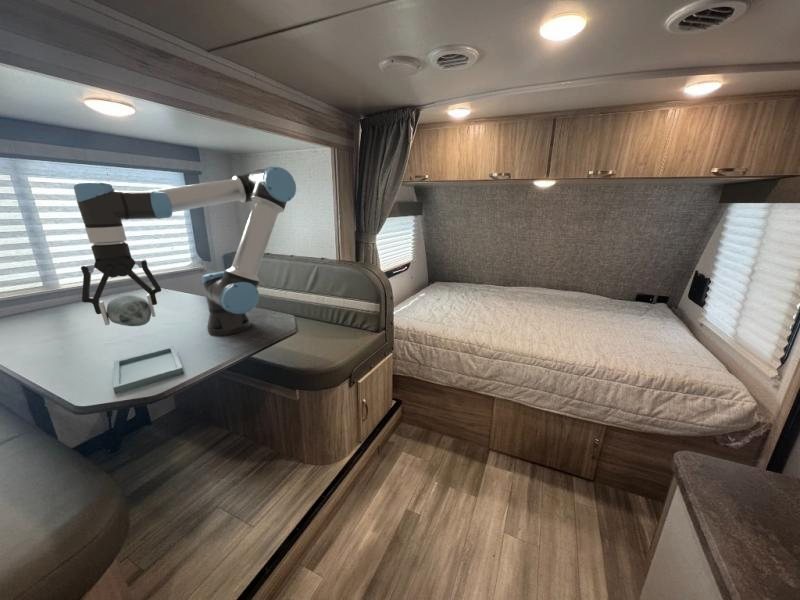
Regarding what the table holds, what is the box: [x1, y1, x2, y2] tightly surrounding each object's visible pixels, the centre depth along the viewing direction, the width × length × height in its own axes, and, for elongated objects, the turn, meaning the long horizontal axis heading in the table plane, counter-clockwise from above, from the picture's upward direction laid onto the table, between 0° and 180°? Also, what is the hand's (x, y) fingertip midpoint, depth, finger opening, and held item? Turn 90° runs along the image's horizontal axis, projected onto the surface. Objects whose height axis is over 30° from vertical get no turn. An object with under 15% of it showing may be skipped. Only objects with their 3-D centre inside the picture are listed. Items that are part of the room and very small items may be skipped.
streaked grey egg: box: [106, 294, 152, 327], centre depth 91 cm, size 14×10×10 cm
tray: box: [112, 345, 185, 395], centre depth 94 cm, size 15×19×2 cm
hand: (131, 319), depth 91 cm, fingers closed on streaked grey egg, 10 cm apart
